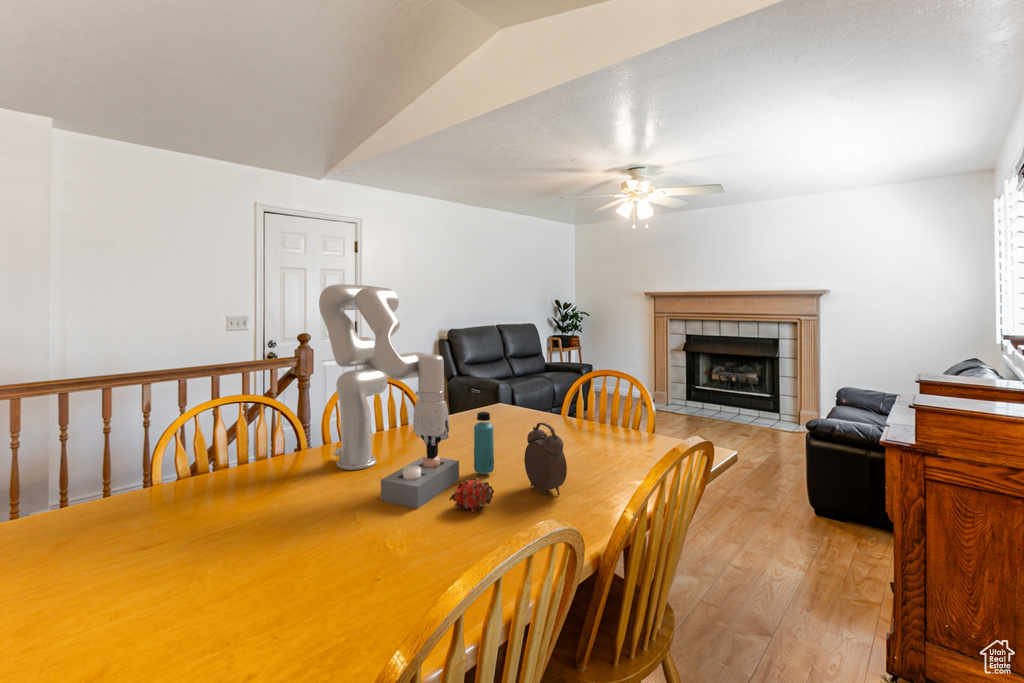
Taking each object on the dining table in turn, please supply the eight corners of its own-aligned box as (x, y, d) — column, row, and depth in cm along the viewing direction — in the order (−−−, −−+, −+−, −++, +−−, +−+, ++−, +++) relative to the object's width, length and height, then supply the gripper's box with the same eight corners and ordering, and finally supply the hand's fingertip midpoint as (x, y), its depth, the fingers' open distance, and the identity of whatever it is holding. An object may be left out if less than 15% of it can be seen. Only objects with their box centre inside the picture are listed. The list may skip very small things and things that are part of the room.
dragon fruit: (497, 512, 126) (453, 524, 123) (489, 485, 132) (447, 495, 129) (498, 496, 120) (452, 507, 117) (490, 468, 126) (445, 478, 123)
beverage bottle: (491, 479, 145) (491, 415, 143) (470, 477, 146) (470, 414, 145) (496, 471, 152) (496, 410, 150) (476, 470, 153) (476, 409, 151)
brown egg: (419, 472, 140) (419, 459, 139) (429, 466, 144) (429, 454, 144) (434, 474, 138) (434, 461, 137) (443, 469, 142) (443, 456, 142)
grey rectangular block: (381, 500, 129) (380, 479, 128) (425, 473, 149) (425, 455, 149) (418, 508, 124) (417, 486, 124) (459, 479, 145) (459, 460, 144)
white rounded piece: (399, 484, 131) (399, 470, 130) (409, 477, 135) (409, 464, 135) (414, 487, 129) (414, 473, 128) (424, 480, 133) (424, 467, 133)
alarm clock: (570, 497, 132) (571, 428, 130) (549, 502, 129) (550, 431, 127) (542, 480, 145) (542, 416, 143) (521, 484, 141) (522, 419, 139)
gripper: (402, 397, 138) (404, 457, 140) (446, 401, 133) (447, 464, 134) (417, 392, 145) (418, 450, 147) (459, 396, 139) (460, 456, 141)
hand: (432, 456), depth 140 cm, fingers closed
